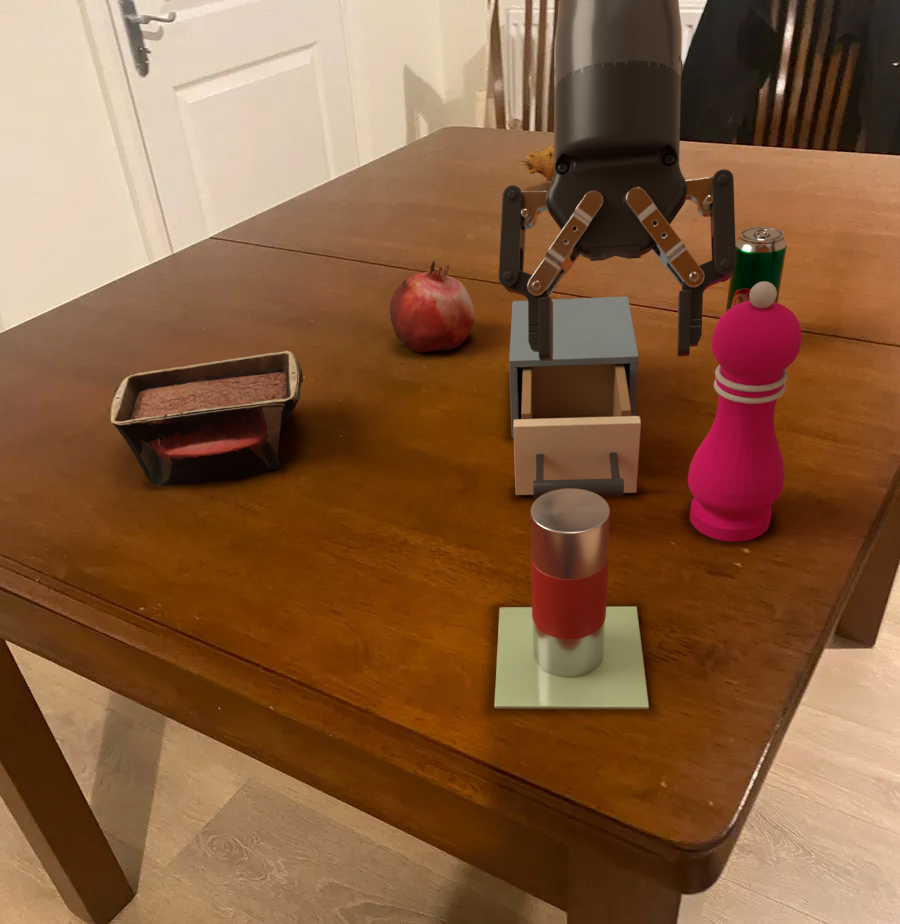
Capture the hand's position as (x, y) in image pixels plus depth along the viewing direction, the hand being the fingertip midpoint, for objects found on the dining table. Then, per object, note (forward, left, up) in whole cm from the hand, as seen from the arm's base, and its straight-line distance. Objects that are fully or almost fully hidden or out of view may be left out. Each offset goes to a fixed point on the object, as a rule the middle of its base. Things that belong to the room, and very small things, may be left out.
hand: (613, 357), depth 58 cm
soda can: (-17, -40, -19) cm, 48 cm away
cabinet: (+2, -28, -19) cm, 34 cm away
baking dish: (+36, -21, -19) cm, 46 cm away
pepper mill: (-10, -8, -19) cm, 23 cm away
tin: (+3, +8, -18) cm, 20 cm away
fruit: (+17, -43, -19) cm, 50 cm away
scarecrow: (-1, -101, -19) cm, 103 cm away
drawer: (+2, -15, -18) cm, 23 cm away
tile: (+3, +8, -19) cm, 21 cm away
